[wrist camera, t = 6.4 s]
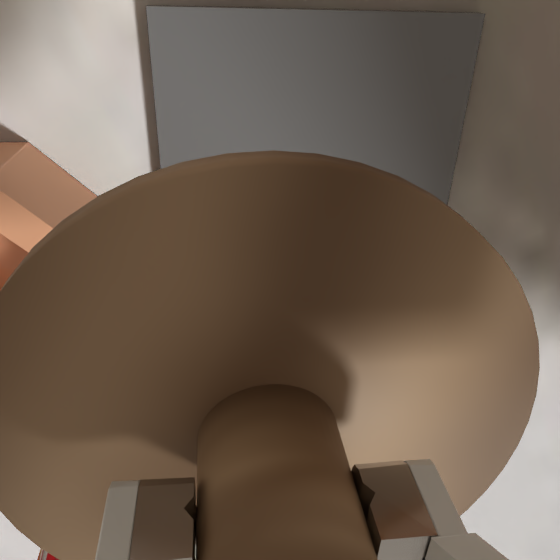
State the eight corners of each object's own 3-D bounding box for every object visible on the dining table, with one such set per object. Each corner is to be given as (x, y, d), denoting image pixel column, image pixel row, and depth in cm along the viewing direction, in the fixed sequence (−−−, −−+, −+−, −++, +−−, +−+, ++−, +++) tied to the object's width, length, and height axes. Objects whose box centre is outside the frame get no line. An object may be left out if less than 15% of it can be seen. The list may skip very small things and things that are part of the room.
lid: (593, 152, 10) (879, 278, 6) (459, 550, 16) (551, 754, 12) (-107, 149, 8) (-420, 318, 4) (36, 592, 14) (-33, 844, 10)
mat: (478, 13, 23) (485, 13, 22) (425, 290, 30) (429, 295, 29) (147, 5, 21) (146, 5, 21) (173, 299, 28) (173, 305, 28)
